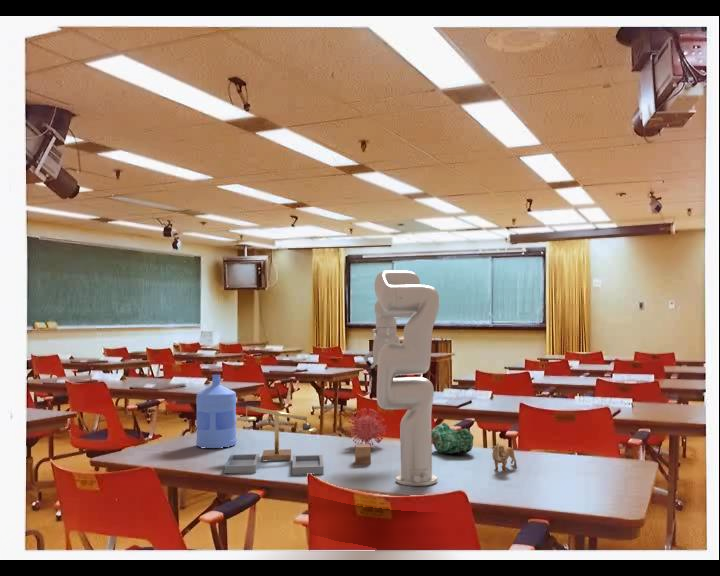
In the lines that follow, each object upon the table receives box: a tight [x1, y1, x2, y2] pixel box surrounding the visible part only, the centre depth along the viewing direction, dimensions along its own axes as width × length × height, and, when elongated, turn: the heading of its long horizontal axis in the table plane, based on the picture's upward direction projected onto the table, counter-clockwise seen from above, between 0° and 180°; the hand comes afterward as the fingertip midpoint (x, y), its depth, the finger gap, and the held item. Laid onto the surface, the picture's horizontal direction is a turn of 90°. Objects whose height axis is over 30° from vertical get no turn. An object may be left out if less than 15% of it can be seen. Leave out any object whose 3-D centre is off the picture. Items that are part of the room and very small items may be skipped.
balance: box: [236, 405, 317, 461], centre depth 239 cm, size 10×28×19 cm, turn 95°
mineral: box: [431, 422, 474, 455], centre depth 244 cm, size 18×16×10 cm
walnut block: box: [354, 443, 372, 466], centre depth 229 cm, size 5×5×6 cm
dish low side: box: [291, 454, 325, 476], centre depth 222 cm, size 18×10×2 cm, turn 5°
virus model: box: [347, 407, 387, 447], centre depth 257 cm, size 15×15×15 cm
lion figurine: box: [491, 444, 517, 473], centre depth 217 cm, size 15×5×9 cm, turn 151°
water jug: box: [195, 374, 237, 448], centre depth 264 cm, size 16×16×28 cm
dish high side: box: [224, 453, 260, 474], centre depth 225 cm, size 18×10×2 cm, turn 5°
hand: (386, 378), depth 244 cm, fingers open, 9 cm apart
